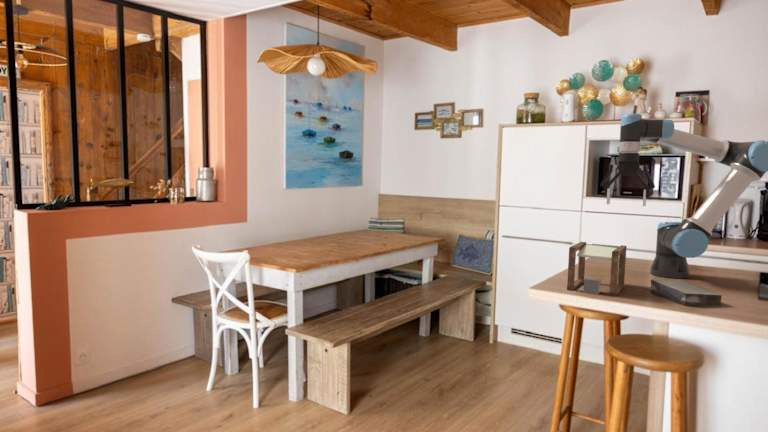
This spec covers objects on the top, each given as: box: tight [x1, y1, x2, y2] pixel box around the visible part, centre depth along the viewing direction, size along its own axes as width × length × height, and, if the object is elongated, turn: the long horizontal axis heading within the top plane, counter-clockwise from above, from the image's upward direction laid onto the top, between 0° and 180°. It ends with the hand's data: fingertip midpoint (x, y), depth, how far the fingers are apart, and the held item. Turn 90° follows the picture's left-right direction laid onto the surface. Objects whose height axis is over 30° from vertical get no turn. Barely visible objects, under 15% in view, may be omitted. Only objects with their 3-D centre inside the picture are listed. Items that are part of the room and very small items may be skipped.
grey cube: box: [583, 276, 602, 295], centre depth 194 cm, size 5×5×5 cm
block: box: [650, 279, 722, 307], centre depth 187 cm, size 14×20×5 cm
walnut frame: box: [566, 241, 627, 297], centre depth 200 cm, size 17×19×16 cm
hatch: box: [576, 243, 620, 261], centre depth 202 cm, size 12×21×6 cm, turn 147°
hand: (625, 205), depth 216 cm, fingers open, 13 cm apart
